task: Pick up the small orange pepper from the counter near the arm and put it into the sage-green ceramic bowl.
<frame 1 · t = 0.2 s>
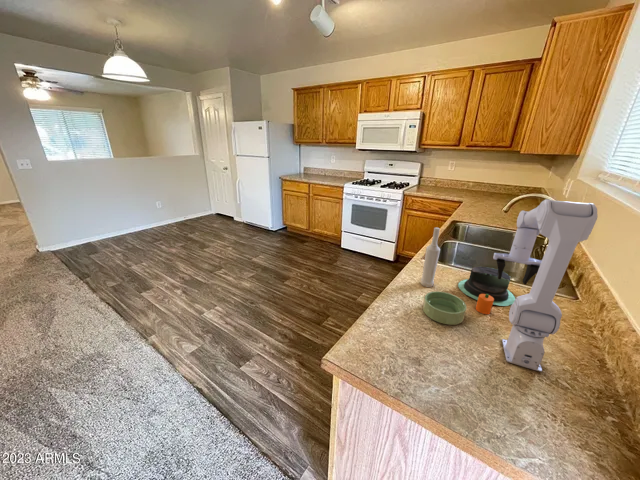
hand: (511, 280, 96), 10 cm above the counter, tool pointing down, fingers open, 7 cm apart
bowl: (442, 313, 93), on the counter
bottle: (426, 284, 112), on the counter
chocolate cake: (485, 292, 107), on the counter
pepper: (482, 310, 95), on the counter
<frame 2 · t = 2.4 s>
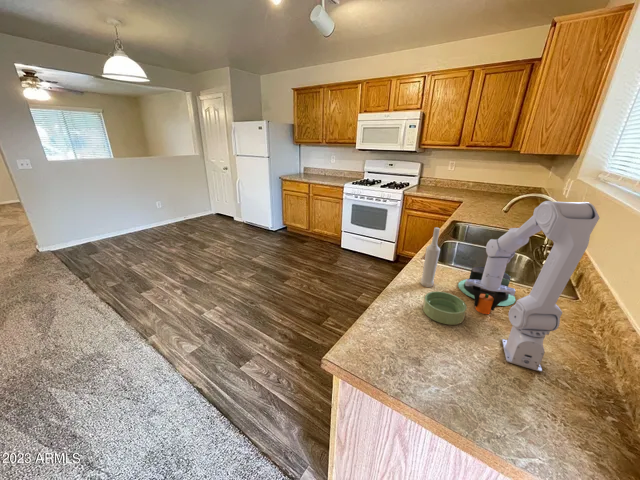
hand: (483, 307, 95), 1 cm above the counter, tool pointing down, fingers closed on pepper, 4 cm apart
pepper: (482, 310, 95), on the counter, touching gripper
everything else where it was.
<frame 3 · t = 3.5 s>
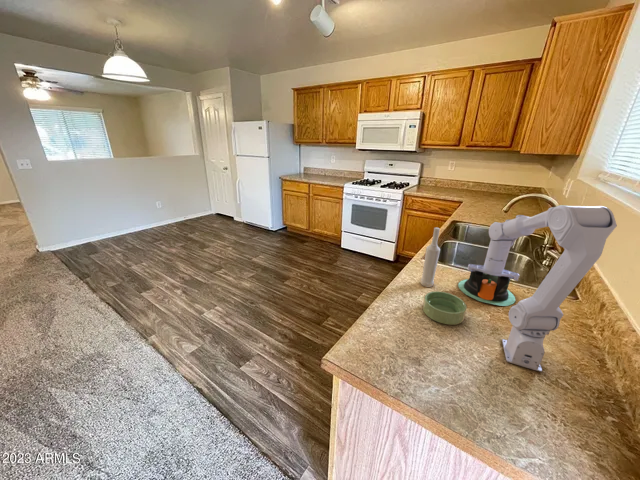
hand: (486, 292, 92), 7 cm above the counter, tool pointing down, fingers closed on pepper, 4 cm apart
pepper: (485, 296, 93), point 6 cm above the counter, touching gripper
everything else where it was.
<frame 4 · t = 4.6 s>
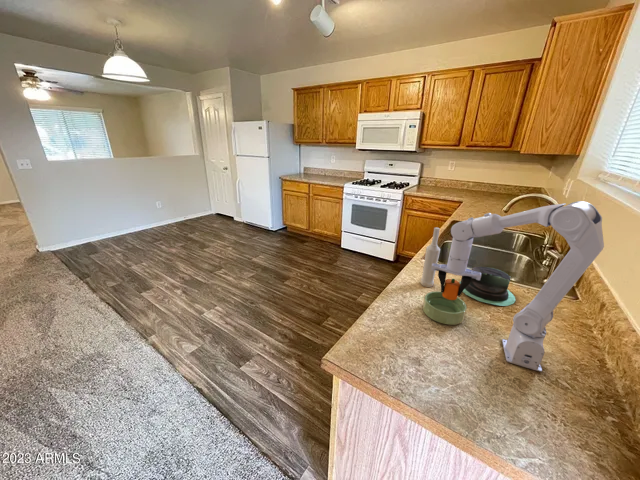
hand: (450, 292, 90), 8 cm above the counter, tool pointing down, fingers closed on pepper, 4 cm apart
pepper: (449, 296, 91), point 7 cm above the counter, touching gripper
everything else where it was.
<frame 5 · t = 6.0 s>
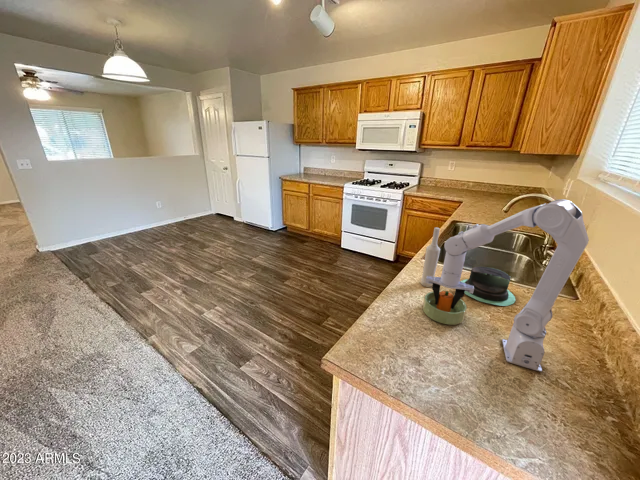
hand: (444, 305, 92), 4 cm above the counter, tool pointing down, fingers closed on pepper, 4 cm apart
pepper: (443, 308, 92), point 2 cm above the counter, touching gripper
everything else where it was.
when the fingers open (2 cm above the counter, at t = 7.0 s): pepper stays where it is, resting on bowl.
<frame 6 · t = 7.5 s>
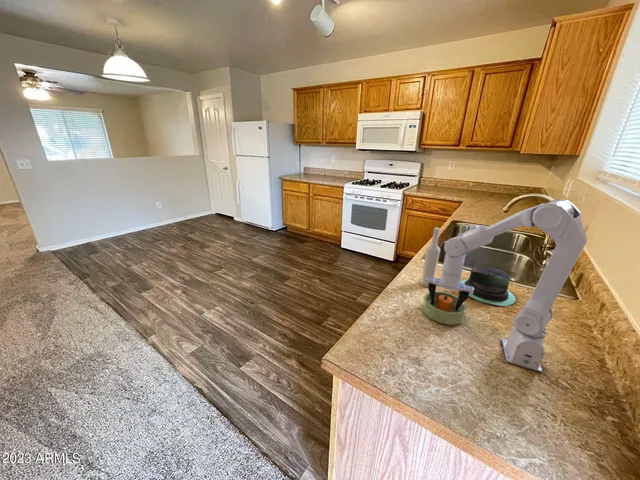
hand: (444, 306, 92), 3 cm above the counter, tool pointing down, fingers open, 7 cm apart
pepper: (442, 312, 93), point 1 cm above the counter, touching bowl
everything else where it was.
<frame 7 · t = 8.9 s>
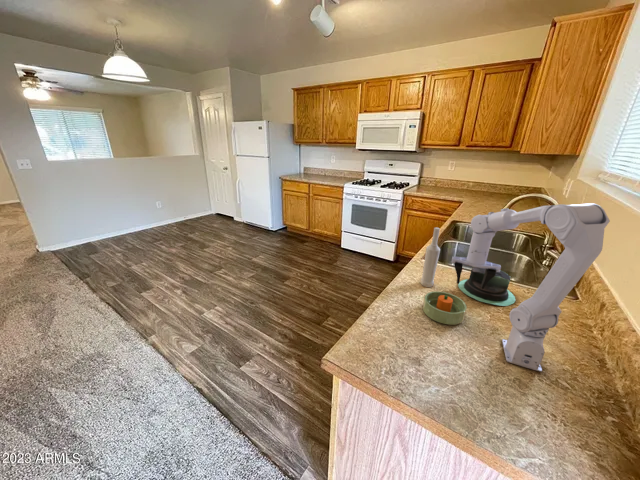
hand: (469, 284, 93), 9 cm above the counter, tool pointing down, fingers open, 7 cm apart
nothing on the counter moved.
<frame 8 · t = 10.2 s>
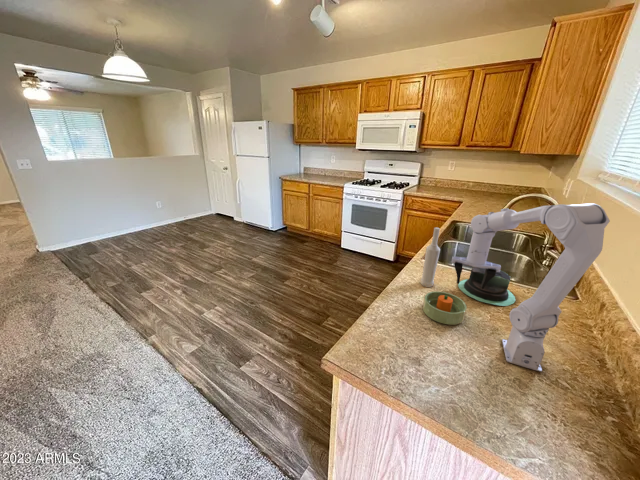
hand: (469, 284, 93), 9 cm above the counter, tool pointing down, fingers open, 7 cm apart
nothing on the counter moved.
at the end: pepper inside the target area in the bowl (0.1 cm from its centre), point 0.6 cm above the bowl's base; the gripper is holding nothing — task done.
